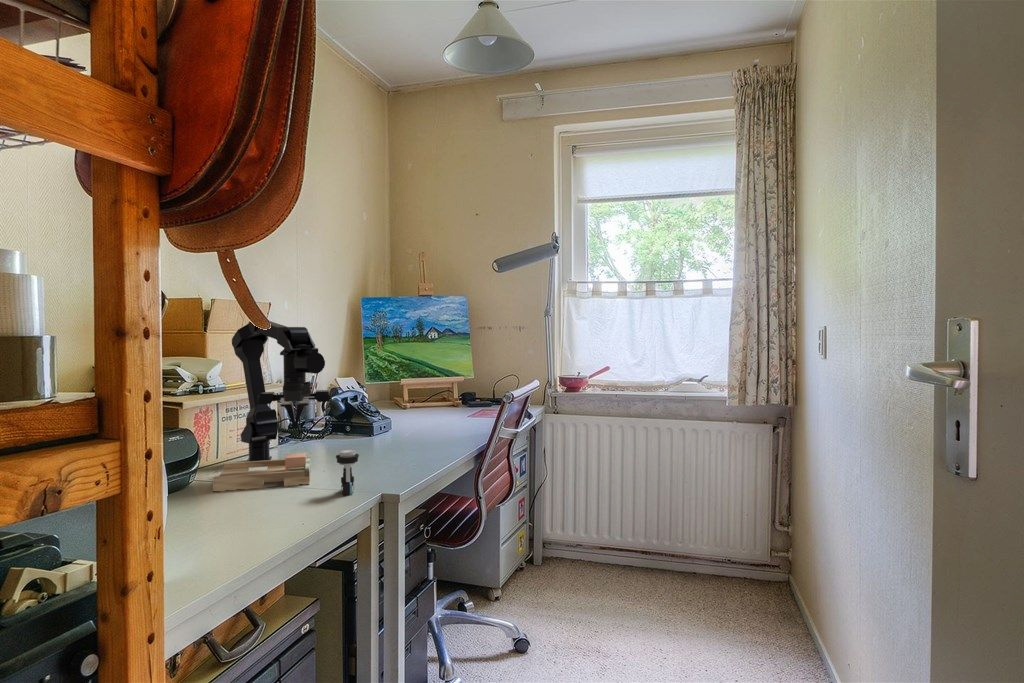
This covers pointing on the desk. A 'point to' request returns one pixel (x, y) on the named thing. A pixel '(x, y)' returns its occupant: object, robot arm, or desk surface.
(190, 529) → the desk surface
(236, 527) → the desk surface
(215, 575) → the desk surface
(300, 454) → the block
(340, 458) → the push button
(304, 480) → the board
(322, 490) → the desk surface
